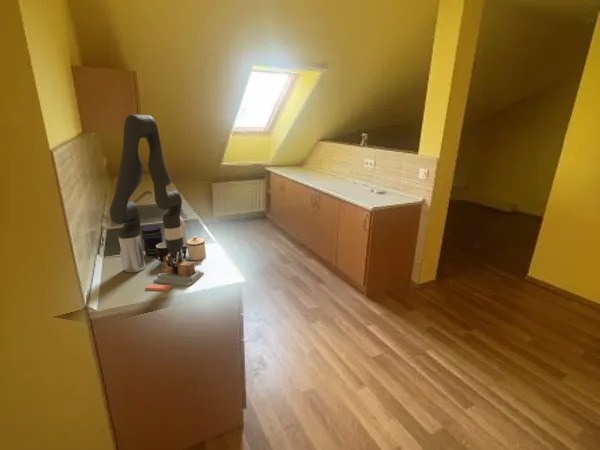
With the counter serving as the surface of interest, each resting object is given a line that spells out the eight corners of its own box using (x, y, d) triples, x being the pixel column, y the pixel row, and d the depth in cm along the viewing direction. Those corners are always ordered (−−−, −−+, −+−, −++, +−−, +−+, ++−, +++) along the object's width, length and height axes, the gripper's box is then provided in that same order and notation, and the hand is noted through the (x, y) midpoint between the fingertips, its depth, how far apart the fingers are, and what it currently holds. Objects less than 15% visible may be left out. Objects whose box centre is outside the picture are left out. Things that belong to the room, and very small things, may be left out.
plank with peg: (162, 273, 149) (160, 258, 147) (168, 269, 153) (166, 255, 151) (190, 276, 146) (188, 261, 144) (195, 272, 150) (193, 258, 148)
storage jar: (141, 256, 175) (136, 229, 171) (152, 249, 184) (148, 224, 180) (157, 257, 173) (153, 231, 169) (168, 251, 182) (165, 225, 178)
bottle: (175, 250, 183) (169, 201, 174) (174, 246, 188) (168, 199, 180) (188, 248, 185) (182, 200, 177) (186, 244, 191) (180, 197, 182)
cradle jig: (153, 281, 147) (153, 276, 146) (170, 270, 158) (169, 265, 157) (189, 286, 143) (188, 280, 142) (203, 274, 154) (203, 268, 153)
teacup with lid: (209, 256, 174) (207, 235, 171) (196, 262, 167) (193, 240, 164) (194, 251, 181) (192, 231, 177) (181, 257, 174) (178, 236, 170)
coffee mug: (171, 258, 172) (168, 240, 169) (180, 262, 167) (177, 244, 164) (149, 265, 164) (146, 247, 161) (158, 270, 158) (155, 251, 155)
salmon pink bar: (145, 290, 140) (145, 287, 140) (149, 287, 143) (148, 284, 143) (168, 291, 139) (167, 288, 139) (171, 288, 142) (170, 285, 142)
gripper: (175, 230, 152) (180, 264, 157) (155, 241, 139) (161, 277, 144) (190, 231, 150) (194, 266, 155) (171, 242, 137) (176, 279, 142)
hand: (178, 271), depth 149 cm, fingers closed on plank with peg, 4 cm apart
